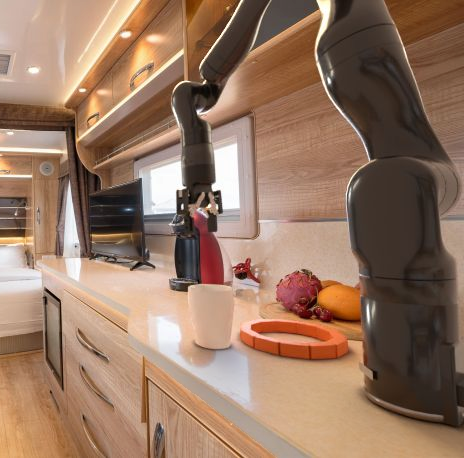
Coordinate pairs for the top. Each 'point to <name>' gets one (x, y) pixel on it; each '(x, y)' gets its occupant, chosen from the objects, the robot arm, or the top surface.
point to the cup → (211, 314)
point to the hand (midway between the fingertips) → (201, 232)
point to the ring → (315, 350)
